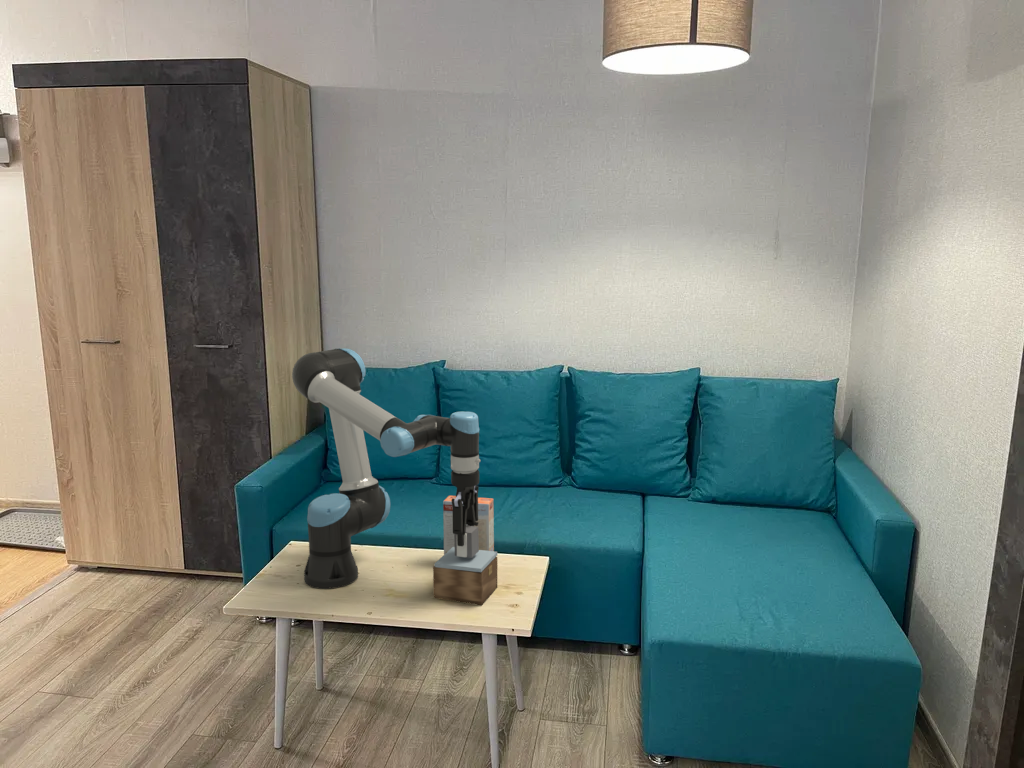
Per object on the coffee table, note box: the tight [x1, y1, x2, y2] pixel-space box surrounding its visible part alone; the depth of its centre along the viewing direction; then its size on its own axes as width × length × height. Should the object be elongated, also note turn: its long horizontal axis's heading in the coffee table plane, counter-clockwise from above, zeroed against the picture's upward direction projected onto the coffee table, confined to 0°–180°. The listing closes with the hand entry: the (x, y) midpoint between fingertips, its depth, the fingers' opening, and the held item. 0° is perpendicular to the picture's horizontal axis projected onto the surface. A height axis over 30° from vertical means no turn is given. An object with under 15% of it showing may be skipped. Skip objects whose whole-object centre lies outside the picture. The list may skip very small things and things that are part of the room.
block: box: [454, 526, 479, 558], centre depth 217 cm, size 5×5×7 cm
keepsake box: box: [432, 556, 498, 607], centre depth 219 cm, size 14×12×9 cm
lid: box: [433, 547, 498, 572], centre depth 218 cm, size 13×12×1 cm
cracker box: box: [442, 495, 495, 555], centre depth 235 cm, size 14×6×21 cm, turn 77°
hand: (466, 552), depth 217 cm, fingers closed on block, 5 cm apart
